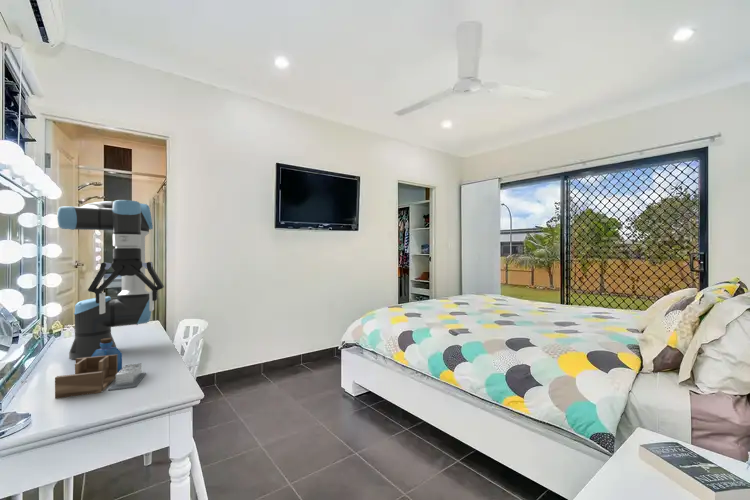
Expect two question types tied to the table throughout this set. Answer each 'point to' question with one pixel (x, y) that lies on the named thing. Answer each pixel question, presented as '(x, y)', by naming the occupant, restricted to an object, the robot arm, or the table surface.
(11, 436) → the table surface
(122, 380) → the bar
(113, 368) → the pocket jig
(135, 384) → the slate pad
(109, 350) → the perfume bottle
